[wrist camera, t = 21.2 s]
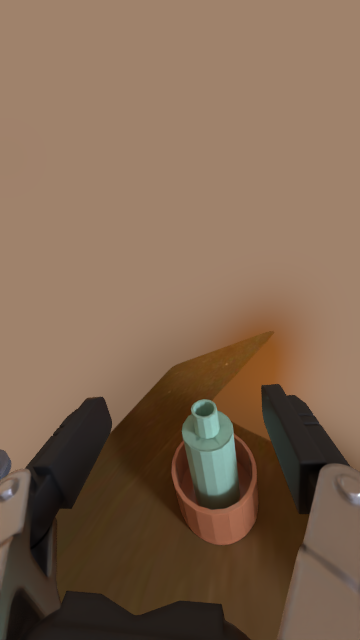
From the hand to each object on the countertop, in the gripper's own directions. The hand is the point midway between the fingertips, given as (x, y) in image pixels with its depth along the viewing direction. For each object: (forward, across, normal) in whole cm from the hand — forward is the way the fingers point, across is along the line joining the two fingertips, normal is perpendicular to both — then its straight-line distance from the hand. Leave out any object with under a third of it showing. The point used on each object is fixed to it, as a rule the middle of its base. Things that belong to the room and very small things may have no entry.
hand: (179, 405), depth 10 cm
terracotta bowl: (+11, 0, +25) cm, 27 cm away
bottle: (+11, 0, +24) cm, 27 cm away
